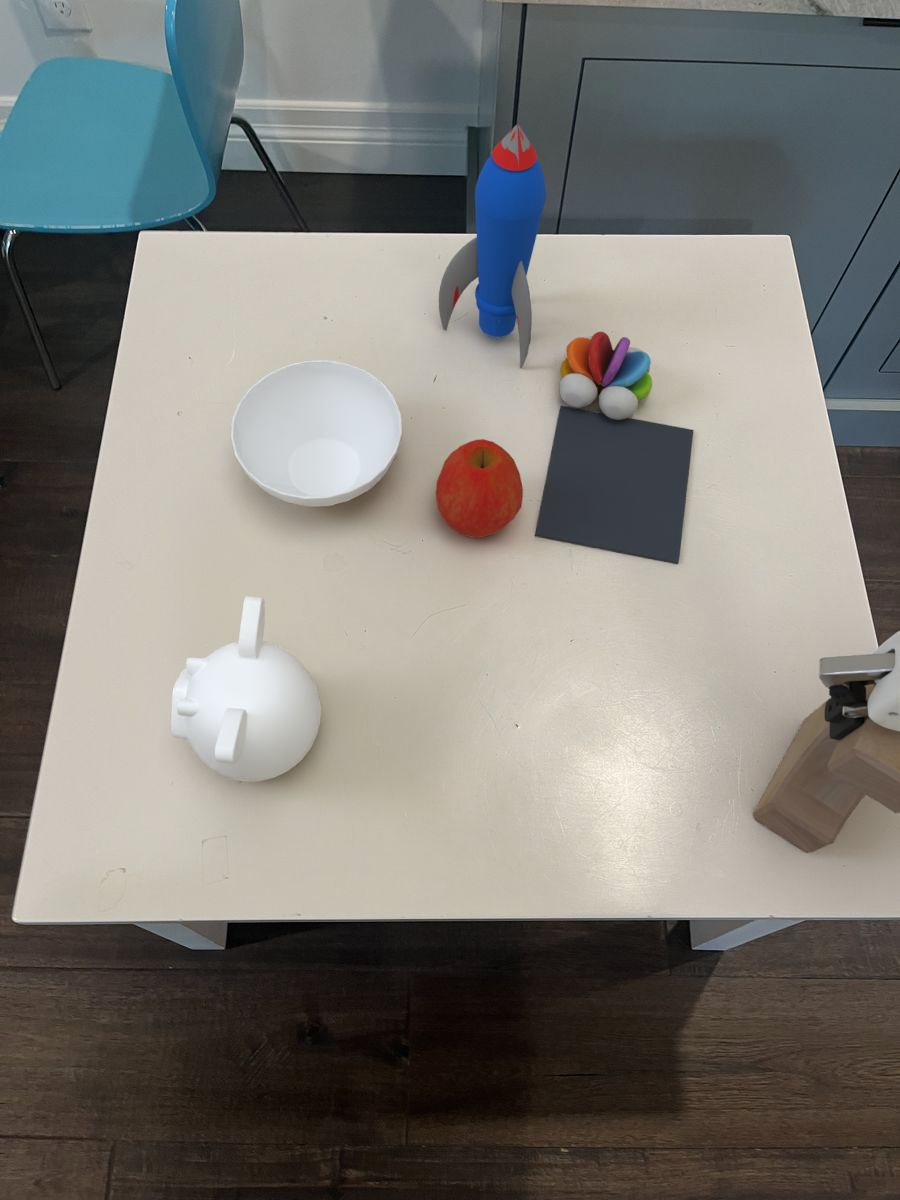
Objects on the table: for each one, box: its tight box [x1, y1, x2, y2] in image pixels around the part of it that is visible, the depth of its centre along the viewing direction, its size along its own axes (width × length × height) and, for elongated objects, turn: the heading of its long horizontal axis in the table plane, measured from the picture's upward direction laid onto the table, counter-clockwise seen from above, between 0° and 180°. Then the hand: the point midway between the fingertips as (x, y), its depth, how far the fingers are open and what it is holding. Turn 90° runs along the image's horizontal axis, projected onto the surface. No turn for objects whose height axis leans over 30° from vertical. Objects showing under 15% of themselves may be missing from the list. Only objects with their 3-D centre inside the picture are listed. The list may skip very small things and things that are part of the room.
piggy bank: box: [170, 595, 322, 782], centre depth 69 cm, size 12×12×15 cm
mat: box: [534, 404, 694, 565], centre depth 88 cm, size 14×16×1 cm
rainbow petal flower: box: [559, 331, 653, 420], centre depth 90 cm, size 8×10×7 cm
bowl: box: [230, 359, 403, 508], centre depth 85 cm, size 16×16×7 cm
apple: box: [435, 438, 524, 538], centre depth 81 cm, size 8×8×11 cm
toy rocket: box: [438, 123, 547, 369], centre depth 85 cm, size 11×10×25 cm
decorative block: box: [752, 684, 900, 854], centre depth 66 cm, size 11×6×20 cm, turn 144°
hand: (892, 730), depth 62 cm, fingers closed on decorative block, 7 cm apart
